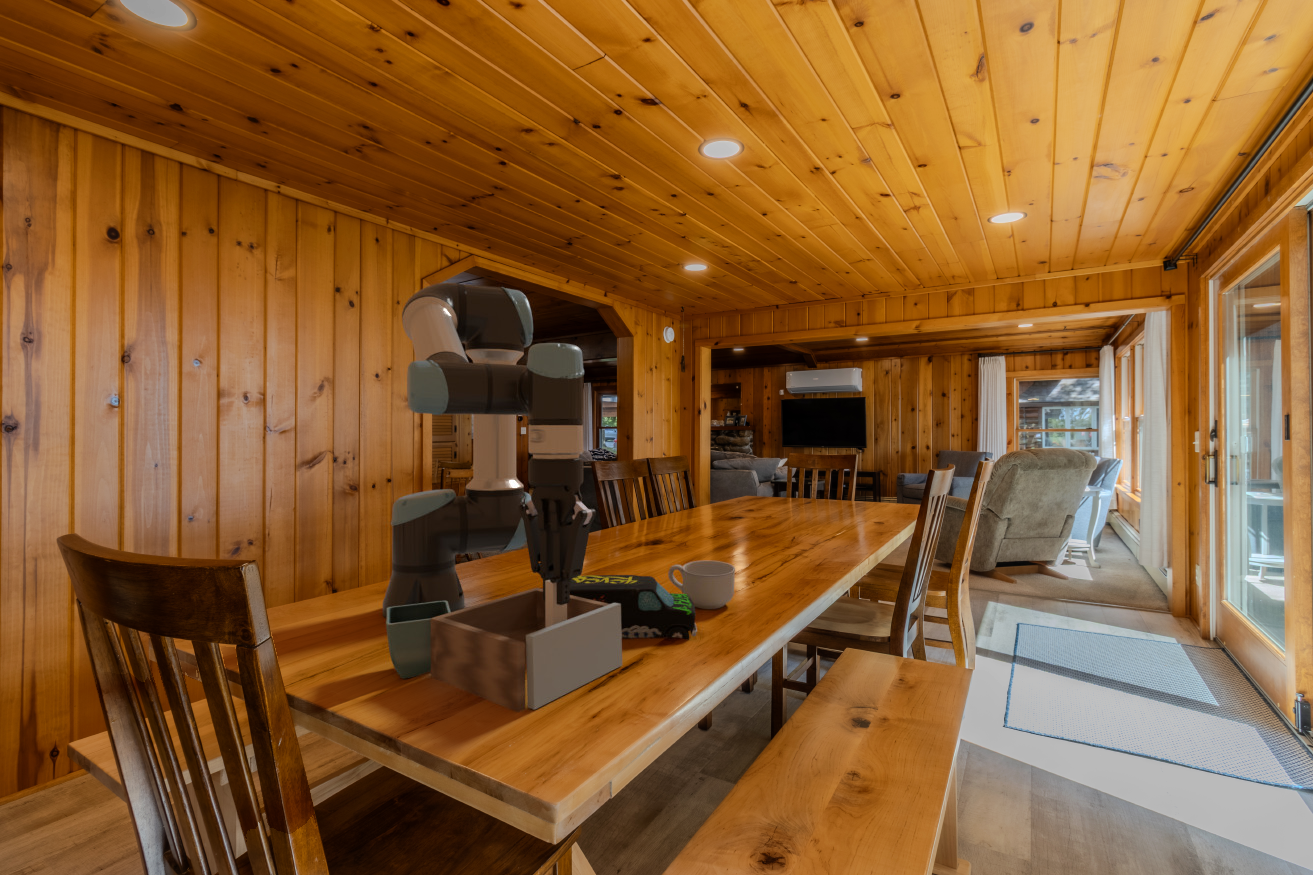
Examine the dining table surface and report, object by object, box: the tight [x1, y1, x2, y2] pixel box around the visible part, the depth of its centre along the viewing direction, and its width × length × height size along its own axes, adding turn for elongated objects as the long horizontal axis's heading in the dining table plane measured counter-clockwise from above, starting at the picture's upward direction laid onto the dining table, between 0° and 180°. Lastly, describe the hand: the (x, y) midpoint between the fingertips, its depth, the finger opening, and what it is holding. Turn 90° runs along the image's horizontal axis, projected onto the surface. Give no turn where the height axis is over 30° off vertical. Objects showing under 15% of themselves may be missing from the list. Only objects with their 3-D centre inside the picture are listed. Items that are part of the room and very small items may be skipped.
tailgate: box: [525, 603, 623, 710], centre depth 82 cm, size 1×17×9 cm, turn 144°
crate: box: [430, 587, 609, 713], centre depth 88 cm, size 18×20×10 cm
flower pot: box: [385, 601, 451, 679], centre depth 90 cm, size 9×9×9 cm
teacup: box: [667, 559, 736, 610], centre depth 125 cm, size 14×11×8 cm
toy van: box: [570, 574, 698, 641], centre depth 105 cm, size 11×25×10 cm, turn 93°
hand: (556, 625), depth 84 cm, fingers closed
